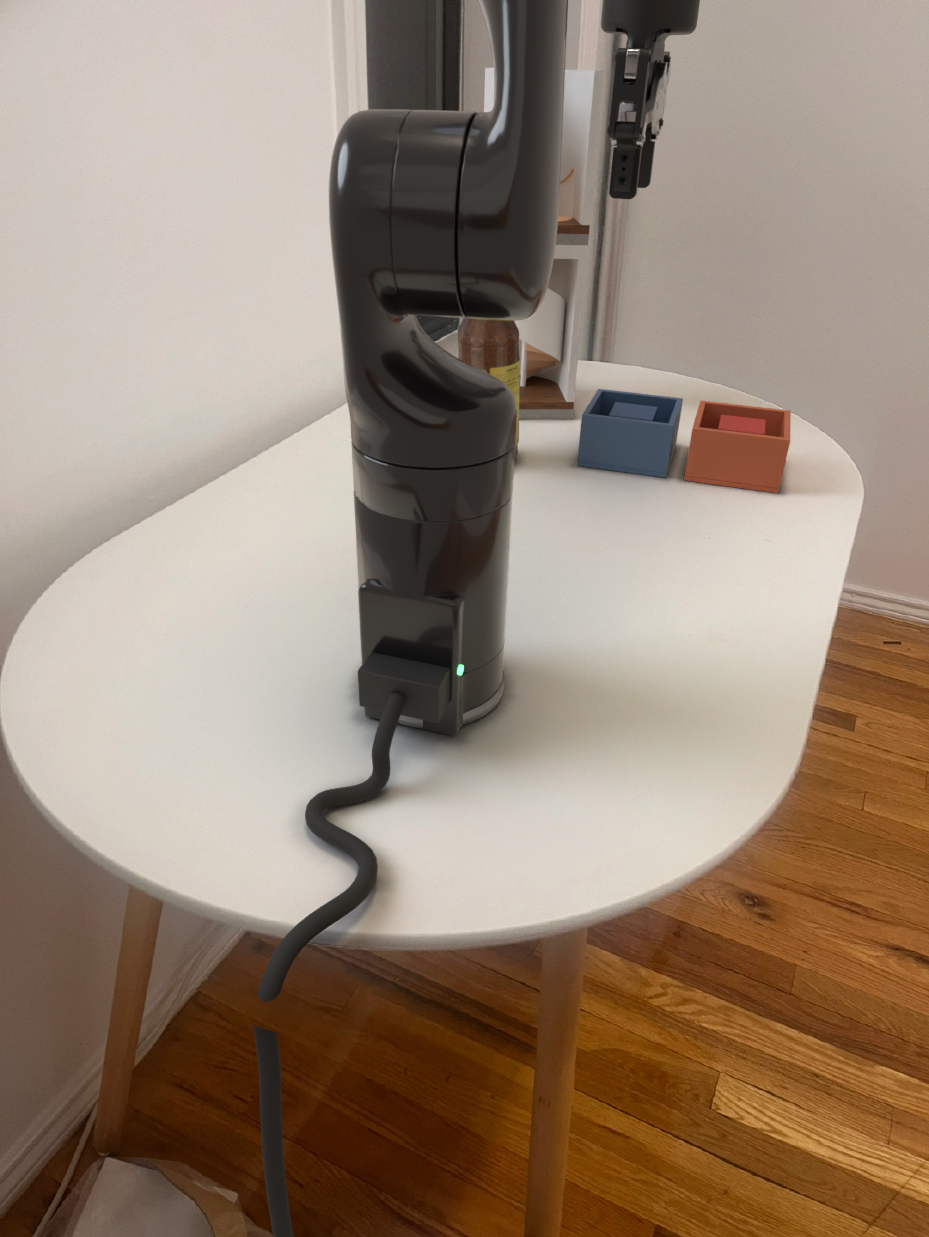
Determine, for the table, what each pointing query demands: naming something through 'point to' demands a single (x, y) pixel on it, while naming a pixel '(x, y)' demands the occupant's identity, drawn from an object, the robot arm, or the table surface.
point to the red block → (742, 424)
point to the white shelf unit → (561, 258)
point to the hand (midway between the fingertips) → (630, 192)
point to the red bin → (738, 448)
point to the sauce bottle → (493, 352)
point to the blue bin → (629, 434)
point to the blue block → (634, 411)
